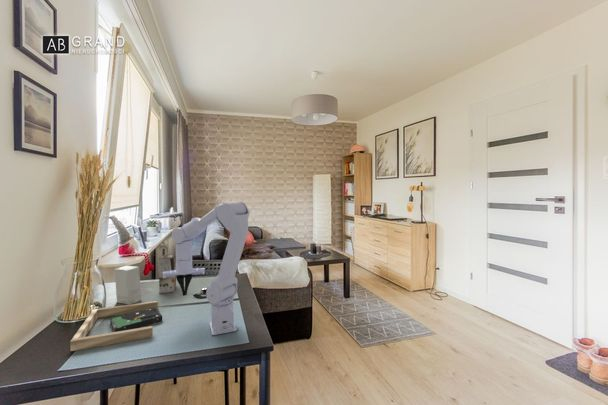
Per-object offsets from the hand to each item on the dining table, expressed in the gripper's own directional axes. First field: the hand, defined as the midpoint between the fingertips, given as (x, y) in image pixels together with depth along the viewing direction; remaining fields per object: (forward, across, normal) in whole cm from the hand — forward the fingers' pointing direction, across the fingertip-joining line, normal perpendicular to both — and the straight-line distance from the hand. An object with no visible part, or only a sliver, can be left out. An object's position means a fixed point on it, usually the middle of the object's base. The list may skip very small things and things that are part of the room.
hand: (184, 294), depth 109 cm
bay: (+8, +20, 0) cm, 22 cm away
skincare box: (+9, +22, -25) cm, 34 cm away
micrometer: (+9, -11, -22) cm, 27 cm away
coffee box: (+9, +7, -35) cm, 37 cm away
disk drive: (+9, +16, -1) cm, 19 cm away
